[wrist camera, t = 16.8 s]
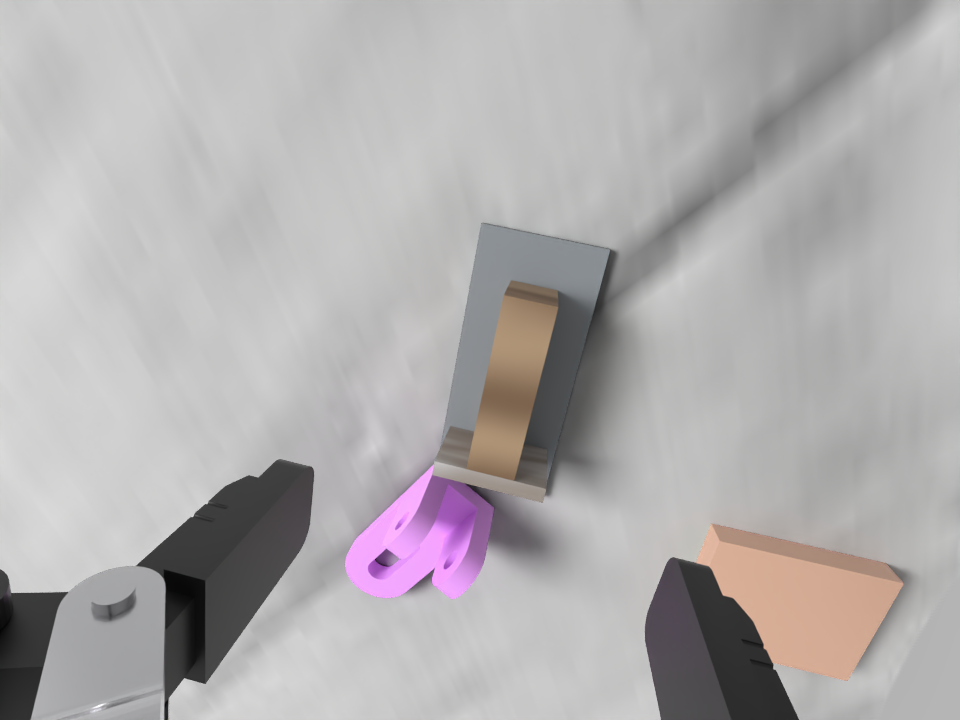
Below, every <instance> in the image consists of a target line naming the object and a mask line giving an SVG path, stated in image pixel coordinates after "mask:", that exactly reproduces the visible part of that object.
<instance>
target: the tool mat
mask: <svg viewBox="0 0 960 720" xmlns="http://www.w3.org/2000/svg"><path fill="white" fill-rule="evenodd" d="M609 253H610V249H607V248H603V247H598V246H593V245H588V244H583V243H578V242H573V241H568V240H564V239H559V238H554V237H549V236H544V235H539V234H534V233H530V232H525V231H520V230H515V229H510V228H505V227H500V226H495V225H491V224H486V223H481V228H480V234H479V239H478V244H477V250H476V255H475V261H474V266H473V272H472V277H471V283H470V288H469V294H468V299H467V305H466V310H465V316H464V321H463V327H462V332H461V338H460V343H459V349H458V354H457V359H456V365H455V370H454V376H453V381H452V387H451V392H450V398H449V403H448V409H447V414H446V420H445V425H444V431H443V436H442V442H441V446H442V444H443V441H444V439H445V437H446V435H447V432H448V430H449V428H450V426H453V427H457V428H461V429H465V430H469V431H473V432H474V431H475V426H476V422H477V417H478V412H479V408H480V403H481V398H482V394H483V389H484V384H485V380H486V375H487V370H488V366H489V361H490V356H491V352H492V347H493V343H494V338H495V333H496V329H497V324H498V319H499V315H500V310H501V305H502V301H503V296H504V293H505V291H506V289H507V287H508V285H509V283H510V281H511V280H513V281H517V282H522V283H526V284H531V285H535V286H540V287H544V288H549V289H553V290H558V311H557V315H556V319H555V323H554V327H553V331H552V335H551V339H550V343H549V347H548V350H547V354H546V358H545V362H544V366H543V370H542V374H541V378H540V382H539V386H538V390H537V394H536V398H535V401H534V405H533V409H532V413H531V417H530V421H529V425H528V429H527V433H526V437H525V441H524V444H527V445H531V446H535V447H539V448H543V449H547V481H548V478H549V474H550V470H551V466H552V463H553V459H554V455H555V452H556V448H557V444H558V441H559V437H560V433H561V430H562V426H563V422H564V419H565V415H566V411H567V408H568V404H569V400H570V397H571V393H572V389H573V385H574V382H575V378H576V374H577V371H578V367H579V363H580V360H581V356H582V352H583V349H584V345H585V341H586V338H587V334H588V330H589V327H590V323H591V319H592V315H593V312H594V308H595V304H596V301H597V297H598V293H599V290H600V286H601V282H602V279H603V275H604V271H605V268H606V264H607V260H608V257H609ZM440 448H441V447H440Z"/></svg>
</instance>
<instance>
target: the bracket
mask: <svg viewBox="0 0 960 720" xmlns="http://www.w3.org/2000/svg"><path fill="white" fill-rule="evenodd" d="M433 467H434V465H433V466H432V467H431V468H430V469H429V470H428V471H427V472H426V473H425V474H424V475H422V476H421V477H420V478H419V479H418V480H417V481H416V482H415V483H414V484H413V485H412V486H411V487H410V488H409V489H408V490H407V491H406V492H405V493H404V494H402V495H401V496H400V497H399V498H398V499H397V500H396V501H395V502H394V503H393V504H392V505H391V506H390V507H389V508H388V509H387V510H386V511H385V512H384V513H382V514H381V515H380V516H379V517H378V518H377V519H376V520H375V521H374V522H373V523H372V524H371V525H370V526H369V527H368V528H367V529H366V530H365V531H364V532H363V533H361V534H360V535H359V536H358V537H357V538H356V540H355V541H354V543H353V545H352V547H351V549H350V550H349V552H348V554H347V556H346V560H345V568H346V572H347V574H348V576H349V578H350V579H351V581H352V582H353V583H354V584H355V585H356V586H357V587H358V588H359V589H361V590H362V591H364V592H366V593H368V594H370V595H373V596H376V597H381V598H392V597H397V596H400V595H402V594H404V593H405V592H406V591H408V590H409V589H410V588H411V587H412V586H414V585H415V584H416V583H417V582H419V581H420V580H421V579H422V578H423V577H425V576H426V575H427V574H428V573H429V572H431V571H432V570H433V569H434V568H435V570H434V573H433V577H432V584H433V585H434V586H435V587H436V588H438V589H439V590H440V591H442V592H443V593H444V594H445V595H447V596H448V597H449V598H451V599H455V598H457V597H459V596H460V595H462V594H463V593H464V592H465V591H466V590H467V589H468V588H469V587H470V586H471V584H472V583H473V582H474V580H475V579H476V577H477V576H478V574H479V572H480V570H481V568H482V566H483V563H484V560H485V555H486V550H487V545H488V539H489V534H490V529H491V524H492V518H493V513H494V507H492V506H491V505H490V504H489V503H488V502H486V501H485V500H484V499H483V498H482V497H480V496H479V495H478V494H477V493H476V492H474V491H473V490H472V489H471V488H470V487H468V486H467V485H466V484H465V483H462V482H458V481H454V480H450V479H446V478H442V477H438V476H434V475H432V473H433ZM386 548H387V549H388V550H389V551H391V552H392V553H393V554H395V555H396V556H397V557H398V558H400V559H399V560H398V561H397V562H396V563H395V564H394V565H392V566H389V567H385V566H382V565H380V564H378V563H377V562H376V561H375V558H376V557H378V556H379V555H380V554H381V553H382V552H383V551H384V550H385V549H386Z"/></svg>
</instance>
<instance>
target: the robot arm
mask: <svg viewBox="0 0 960 720" xmlns="http://www.w3.org/2000/svg"><path fill="white" fill-rule="evenodd" d="M313 482H314V470H313V468H312V467H310V466H306V465H302V464H298V463H294V462H290V461H286V460H282V459H279V460H277V461H276V462H274V463H273V464H272V465H271V466H270V467H269V468H268V469H267V470H266V471H265V472H264V473H263V474H262V475H261V476H260V477H259V478H257V477H253V476H246V477H244V478H242V479H240V480H238V481H236V482H233V483H231V484H229V485H227V486H225V487H224V488H223V489H222V490H221V491H219V492H218V493H217V494H216V495H215V496H214V497H213V498H212V499H211V500H209V502H208V504H205V505H204V506H203V507H202V508H200V509H199V510H198V511H197V512H196V513H195V514H194V517H190V518H189V519H188V520H187V521H186V522H185V523H184V524H182V525H181V526H180V527H179V528H178V529H177V530H176V531H175V532H173V533H172V534H171V535H170V536H169V537H168V538H167V539H166V540H164V541H163V542H162V543H161V544H160V545H159V546H158V547H157V548H156V549H154V550H153V551H152V552H151V553H150V554H149V555H148V556H147V557H145V558H144V559H143V560H142V561H141V562H140V563H139V564H138V565H136V566H126V567H118V568H114V569H110V570H106V571H103V572H100V573H98V574H96V575H93V576H91V577H89V578H88V579H86V580H84V581H82V582H81V583H79V584H78V585H77V586H75V587H74V588H73V589H72V590H71V591H69V592H54V593H11V590H10V584H9V579H8V576H7V575H6V574H5V572H4V571H2V570H0V720H169V697H170V696H171V694H172V693H173V692H174V691H175V689H176V688H177V687H178V685H179V684H180V683H181V681H182V680H183V679H184V678H186V679H190V680H193V681H197V682H200V683H204V684H206V682H207V681H208V680H209V678H210V677H211V675H212V674H213V673H214V671H215V670H216V668H217V667H218V665H219V664H220V663H221V661H222V660H223V658H224V657H225V656H226V654H227V653H228V651H229V650H230V649H231V647H232V646H233V644H234V643H235V642H236V640H237V639H238V637H239V636H240V635H241V633H242V632H243V630H244V629H245V627H246V626H247V625H248V623H249V622H250V620H251V619H252V618H253V616H254V615H255V613H256V612H257V611H258V609H259V608H260V606H261V605H262V604H263V602H264V601H265V599H266V598H267V597H268V595H269V594H270V592H271V591H272V589H273V588H274V587H275V585H276V584H277V582H278V581H279V580H280V578H281V577H282V575H283V574H284V573H285V571H286V570H287V568H288V567H289V566H290V564H291V563H292V561H293V560H294V559H295V557H296V556H297V554H298V553H299V551H300V550H301V548H302V546H303V544H304V542H305V539H306V537H307V533H308V530H309V525H310V516H311V505H312V493H313ZM645 642H646V647H647V652H648V657H649V662H650V667H651V672H652V677H653V681H654V686H655V691H656V696H657V701H658V706H659V711H660V716H661V720H799V719H798V717H797V714H796V712H795V710H794V708H793V706H792V704H791V702H790V699H789V697H788V695H787V693H786V691H785V689H784V687H783V684H782V682H781V680H780V678H779V676H778V674H777V672H776V670H773V663H772V661H771V659H770V656H769V654H768V652H767V650H766V649H764V644H763V641H762V639H761V637H760V635H759V633H758V631H757V629H756V626H755V624H754V622H753V620H752V619H751V618H750V617H749V616H748V615H747V613H746V612H745V611H744V610H743V609H742V608H741V606H740V605H739V604H738V603H737V602H736V601H735V599H734V598H731V597H727V596H723V594H722V592H721V590H720V587H719V585H718V583H717V580H716V578H715V575H714V573H713V571H712V569H711V568H710V567H709V566H706V565H702V564H698V563H694V562H690V561H686V560H682V559H678V558H674V557H673V558H670V559H669V561H668V562H667V564H666V566H665V569H664V572H663V574H662V577H661V579H660V582H659V584H658V587H657V589H656V592H655V594H654V597H653V600H652V602H651V605H650V607H649V610H648V613H647V617H646V624H645Z"/></svg>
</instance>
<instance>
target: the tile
mask: <svg viewBox="0 0 960 720" xmlns="http://www.w3.org/2000/svg"><path fill="white" fill-rule="evenodd" d="M696 563H698V564H702V565H706V566H709V567H710V568H711V569H712V571H713V573H714V575H715V578H716V580H717V583H718V585H719V587H720V590H721V592H722V594H723V596H727V597H731V598H734V599H735V601H736V602H737V603H738V604H739V605H740V606H741V608H742V609H743V610H744V611H745V612H746V613H747V615H748V616H749V617H750V618H751V619H752V620H753V622H754V624H755V626H756V629H757V631H758V633H759V635H760V637H761V639H762V641H763V644H764V649H766V650H767V652H768V654H769V656H770V659H771V661H772V663H776V664H780V665H784V666H789V667H793V668H797V669H801V670H805V671H809V672H813V673H817V674H821V675H825V676H829V677H833V678H837V679H841V680H845V681H848V679H849V678H850V676H851V674H852V672H853V671H854V669H855V667H856V666H857V664H858V662H859V660H860V659H861V657H862V655H863V654H864V652H865V650H866V648H867V647H868V645H869V643H870V641H871V640H872V638H873V636H874V635H875V633H876V631H877V629H878V628H879V626H880V624H881V622H882V621H883V619H884V617H885V616H886V614H887V612H888V610H889V609H890V607H891V605H892V604H893V602H894V600H895V598H896V597H897V595H898V593H899V591H900V590H901V588H902V586H903V585H904V583H903V582H902V581H901V580H900V578H899V577H898V576H897V575H896V574H895V573H894V572H893V571H892V570H891V568H890V567H889V566H888V565H887V564H886V563H882V562H878V561H874V560H869V559H865V558H860V557H856V556H852V555H847V554H843V553H838V552H834V551H830V550H825V549H821V548H816V547H812V546H808V545H803V544H799V543H794V542H790V541H786V540H781V539H777V538H772V537H768V536H764V535H759V534H755V533H751V532H746V531H742V530H737V529H733V528H729V527H724V526H720V525H715V524H711V526H710V528H709V531H708V534H707V536H706V539H705V541H704V544H703V546H702V549H701V551H700V554H699V556H698V559H697V562H696Z"/></svg>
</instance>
